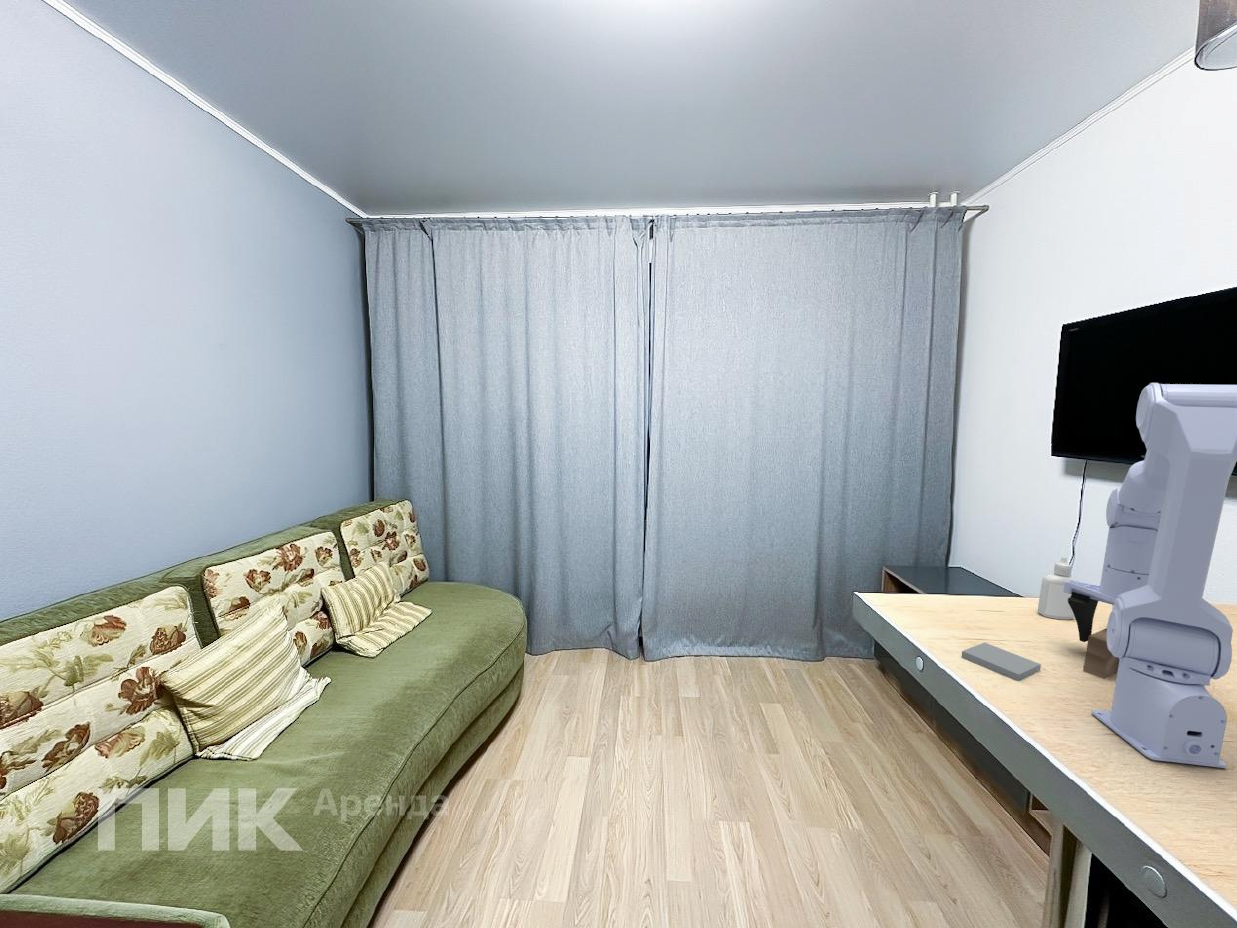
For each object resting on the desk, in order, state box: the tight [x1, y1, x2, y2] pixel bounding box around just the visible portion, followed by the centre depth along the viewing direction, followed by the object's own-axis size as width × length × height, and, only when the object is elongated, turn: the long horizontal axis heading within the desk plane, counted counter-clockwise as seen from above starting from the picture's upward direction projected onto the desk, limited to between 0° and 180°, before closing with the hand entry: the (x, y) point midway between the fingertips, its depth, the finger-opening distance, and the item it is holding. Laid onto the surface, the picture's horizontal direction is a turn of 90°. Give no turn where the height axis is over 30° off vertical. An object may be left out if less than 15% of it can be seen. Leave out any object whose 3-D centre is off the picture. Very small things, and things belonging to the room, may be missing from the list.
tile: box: [961, 641, 1042, 682], centre depth 83 cm, size 8×2×7 cm
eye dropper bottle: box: [1037, 556, 1079, 621], centre depth 102 cm, size 4×6×12 cm
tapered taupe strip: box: [1082, 627, 1120, 679], centre depth 84 cm, size 14×2×6 cm, turn 119°
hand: (1114, 650), depth 84 cm, fingers open, 7 cm apart
